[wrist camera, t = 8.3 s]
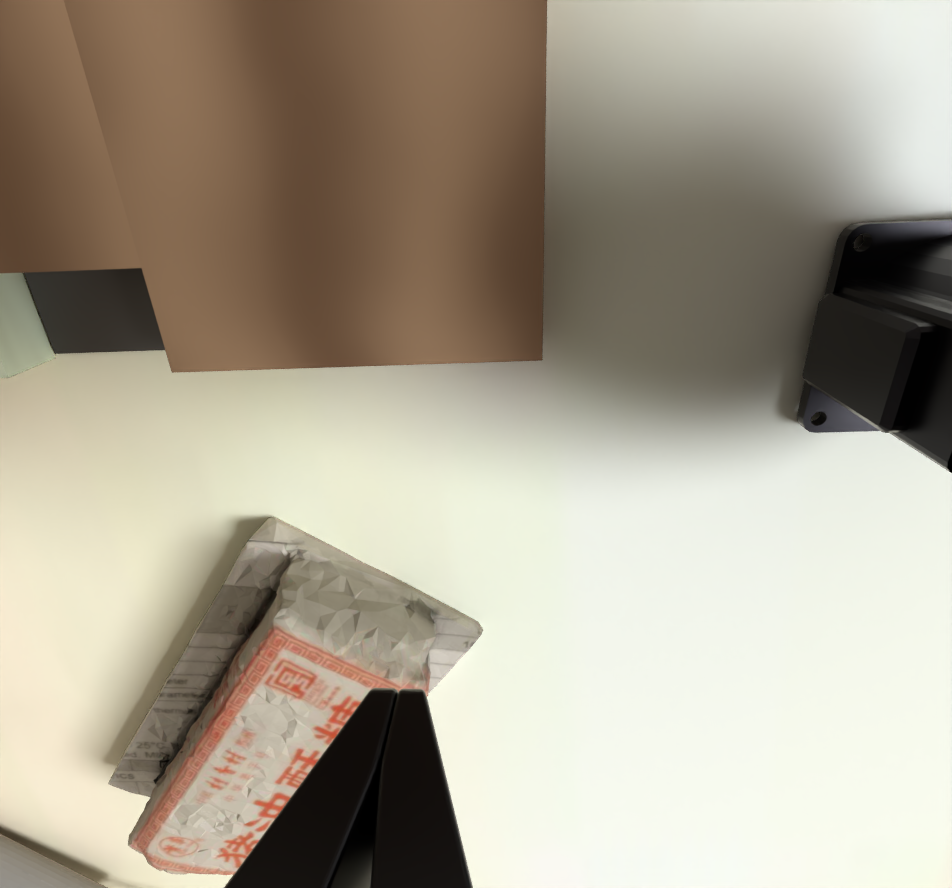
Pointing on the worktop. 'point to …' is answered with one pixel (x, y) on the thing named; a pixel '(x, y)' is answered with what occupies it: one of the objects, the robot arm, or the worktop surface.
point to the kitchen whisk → (35, 869)
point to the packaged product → (273, 692)
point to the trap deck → (272, 181)
